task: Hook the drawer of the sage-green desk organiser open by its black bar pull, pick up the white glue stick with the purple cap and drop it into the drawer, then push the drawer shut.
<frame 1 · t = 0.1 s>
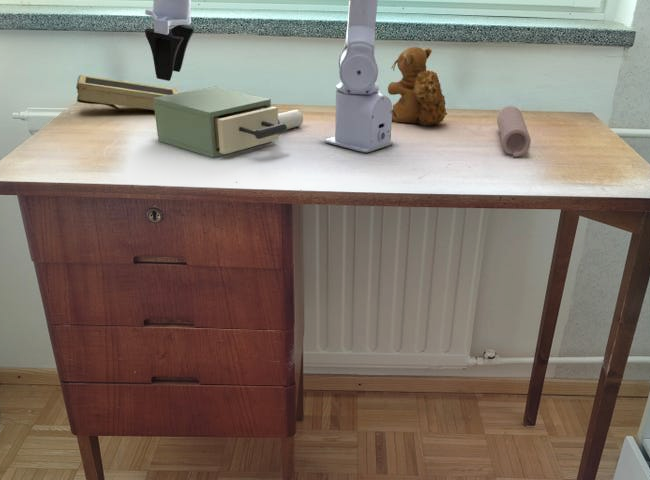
hand: (168, 74, 114), 11 cm above the table, tool pointing down, fingers open, 7 cm apart
box: (139, 111, 136), on the table
organiser: (215, 141, 119), on the table
coil: (510, 144, 124), on the table
stuffed squirrel: (417, 122, 136), on the table
drawer: (235, 126, 115), point 4 cm above the table, slide at 1.0 cm
glue stick: (283, 129, 127), on the table
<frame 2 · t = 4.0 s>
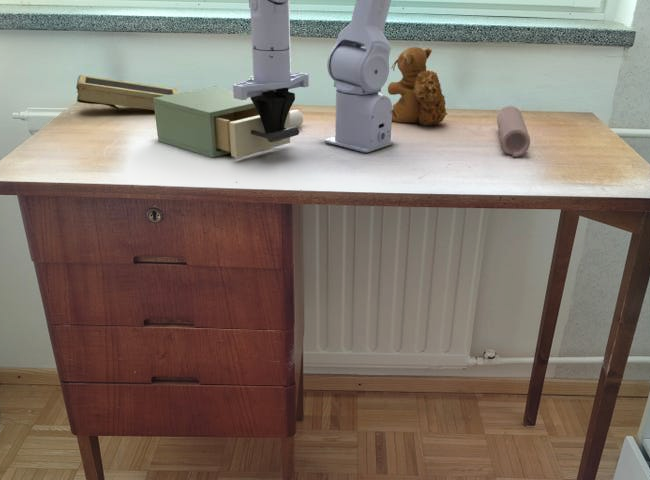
hand: (274, 139, 110), 3 cm above the table, tool pointing down, fingers closed, pressing on drawer
drawer: (246, 129, 113), point 4 cm above the table, slide at 3.7 cm, touching gripper
everything else where it was.
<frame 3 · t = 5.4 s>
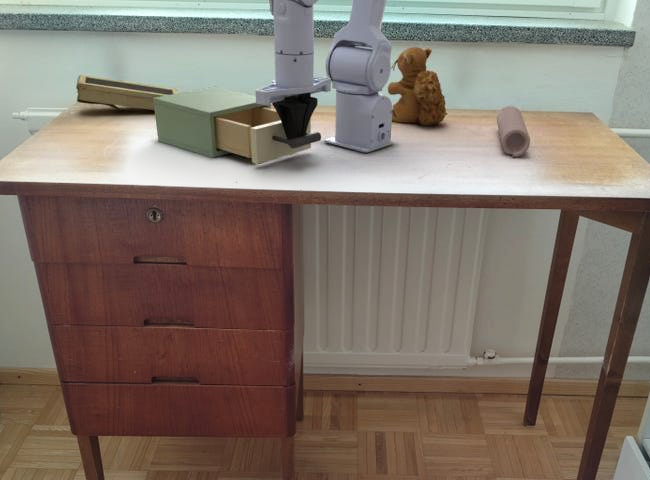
hand: (295, 145, 108), 3 cm above the table, tool pointing down, fingers closed, pressing on drawer
drawer: (266, 134, 111), point 4 cm above the table, slide at 8.4 cm, touching gripper
everything else where it was.
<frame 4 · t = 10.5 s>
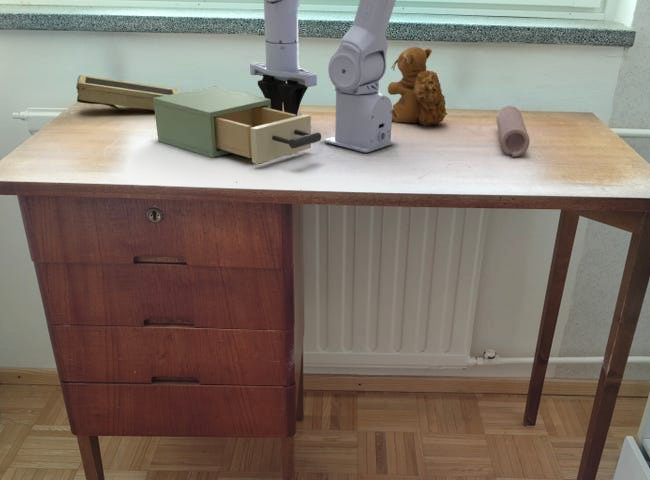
hand: (283, 121, 126), 1 cm above the table, tool pointing down, fingers closed on glue stick, 3 cm apart
drawer: (266, 134, 111), point 4 cm above the table, slide at 8.4 cm
glue stick: (283, 129, 127), on the table, touching gripper
everything else where it was.
when the fingers open (6 cm above the table, at t = 14.9 s): glue stick drops 2 cm, resting on drawer.
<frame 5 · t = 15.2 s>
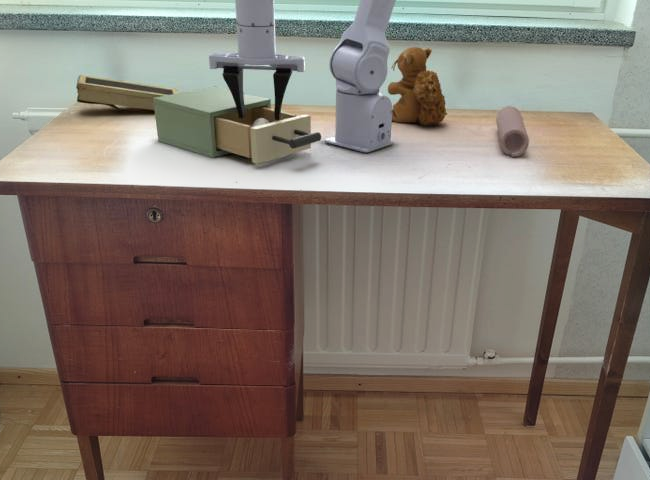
hand: (259, 117, 110), 6 cm above the table, tool pointing down, fingers open, 5 cm apart
drawer: (266, 134, 111), point 4 cm above the table, slide at 8.4 cm, touching glue stick
glue stick: (261, 142, 112), point 2 cm above the table, tilted 10°, touching drawer
everything else where it was.
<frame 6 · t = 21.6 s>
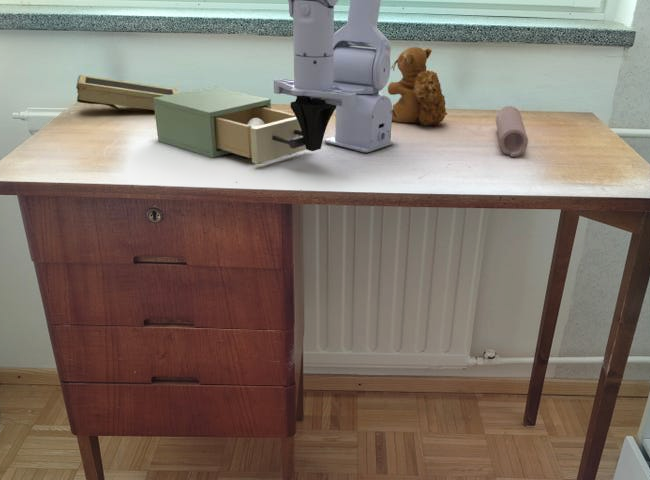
hand: (313, 149, 106), 3 cm above the table, tool pointing down, fingers closed
drawer: (266, 134, 111), point 4 cm above the table, slide at 8.4 cm, touching glue stick, gripper
glue stick: (260, 139, 112), point 2 cm above the table, tilted 45°, touching drawer
everything else where it was.
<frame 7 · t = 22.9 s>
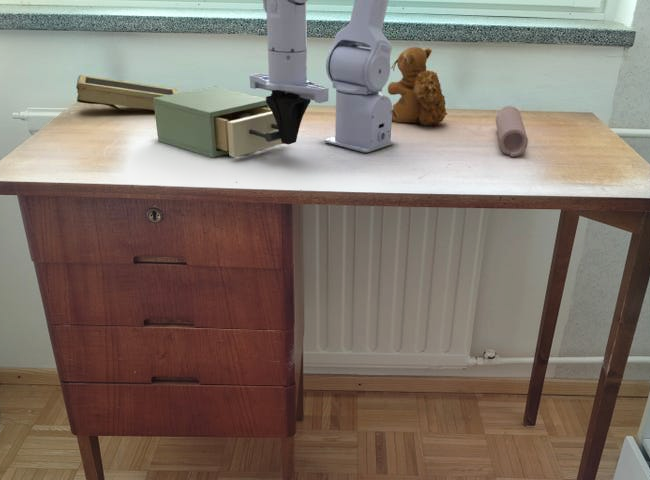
hand: (289, 142, 109), 3 cm above the table, tool pointing down, fingers closed
drawer: (244, 128, 114), point 4 cm above the table, slide at 3.3 cm, touching glue stick, gripper
glue stick: (239, 134, 115), point 2 cm above the table, tilted 31°, touching drawer
everything else where it was.
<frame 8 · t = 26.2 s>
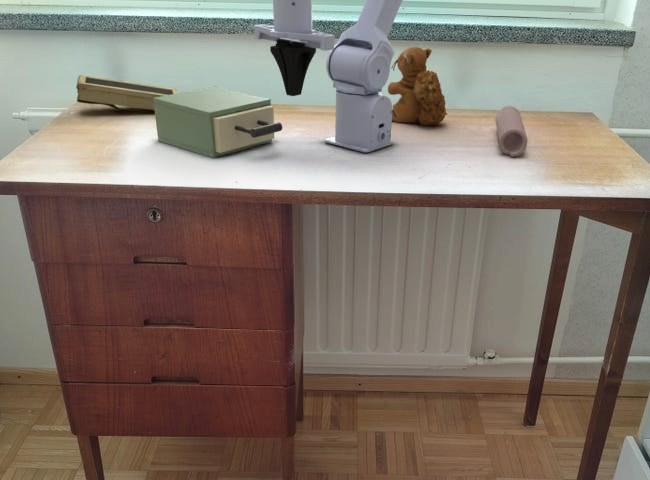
hand: (293, 94, 107), 10 cm above the table, tool pointing down, fingers closed
drawer: (231, 124, 115), point 4 cm above the table, slide at 0.0 cm, touching glue stick
glue stick: (226, 132, 117), point 2 cm above the table, touching drawer
everything else where it was.
at the end: drawer pulled out 8.4 cm at the most during the clip, back to where it started at the end; glue stick inside the target area in the organiser (2.8 cm from its centre), point 2.0 cm above the organiser's base; drawer slide at 0.0 cm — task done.
